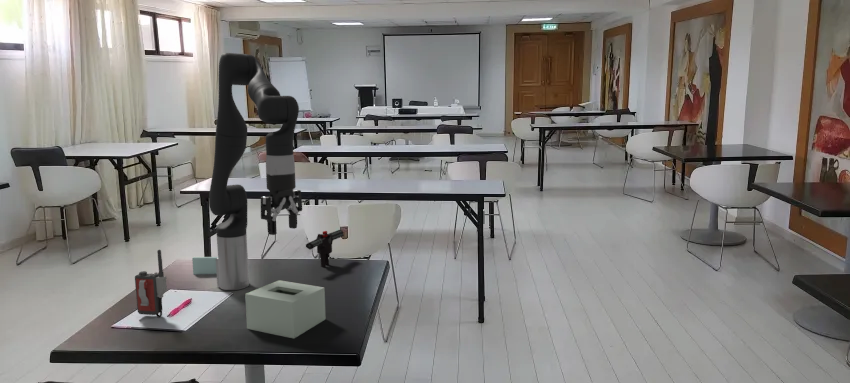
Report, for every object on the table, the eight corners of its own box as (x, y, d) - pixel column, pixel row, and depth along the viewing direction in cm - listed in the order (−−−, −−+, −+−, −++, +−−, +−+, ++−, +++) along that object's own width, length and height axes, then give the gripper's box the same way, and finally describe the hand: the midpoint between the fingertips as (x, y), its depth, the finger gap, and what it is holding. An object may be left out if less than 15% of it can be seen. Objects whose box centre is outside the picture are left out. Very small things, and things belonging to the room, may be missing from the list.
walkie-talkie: (170, 315, 183) (165, 248, 180) (161, 321, 179) (156, 252, 176) (143, 314, 185) (137, 247, 182) (133, 319, 180) (127, 251, 177)
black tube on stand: (347, 266, 234) (346, 226, 232) (316, 280, 217) (315, 237, 214) (335, 264, 236) (333, 225, 234) (304, 278, 219) (302, 236, 217)
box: (247, 329, 172) (245, 293, 171) (280, 313, 185) (279, 280, 183) (294, 339, 165) (292, 302, 164) (325, 321, 177) (324, 287, 176)
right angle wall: (238, 269, 232) (237, 249, 231) (228, 278, 220) (226, 257, 219) (205, 269, 232) (204, 249, 231) (193, 278, 220) (192, 257, 219)
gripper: (286, 168, 176) (288, 225, 179) (251, 174, 164) (254, 235, 166) (308, 169, 173) (310, 227, 175) (274, 175, 160) (276, 238, 163)
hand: (282, 231), depth 171 cm, fingers open, 8 cm apart
